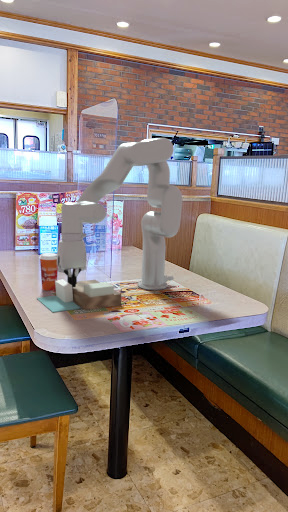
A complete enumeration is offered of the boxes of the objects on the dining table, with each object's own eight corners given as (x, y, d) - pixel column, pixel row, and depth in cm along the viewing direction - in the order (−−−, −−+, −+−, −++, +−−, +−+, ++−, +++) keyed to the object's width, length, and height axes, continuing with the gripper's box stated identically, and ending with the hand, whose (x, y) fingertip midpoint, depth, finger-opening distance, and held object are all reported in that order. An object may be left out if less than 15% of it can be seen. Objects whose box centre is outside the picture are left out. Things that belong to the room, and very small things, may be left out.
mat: (62, 295, 153) (62, 294, 153) (80, 308, 139) (80, 307, 139) (36, 298, 148) (36, 297, 148) (52, 312, 134) (52, 311, 134)
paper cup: (39, 292, 156) (39, 256, 154) (39, 286, 164) (38, 252, 161) (60, 291, 158) (60, 256, 156) (58, 285, 166) (58, 252, 163)
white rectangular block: (62, 279, 151) (54, 280, 149) (71, 285, 144) (63, 286, 142) (64, 294, 152) (56, 296, 151) (73, 300, 145) (65, 302, 143)
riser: (94, 289, 163) (94, 279, 162) (121, 304, 145) (121, 293, 144) (61, 293, 155) (61, 283, 155) (85, 310, 137) (85, 299, 137)
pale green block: (83, 292, 144) (83, 284, 143) (106, 289, 148) (106, 281, 148) (90, 297, 139) (90, 288, 138) (113, 294, 143) (114, 285, 143)
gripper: (86, 234, 152) (86, 282, 156) (48, 236, 144) (48, 286, 148) (95, 237, 146) (94, 286, 149) (55, 239, 138) (56, 291, 141)
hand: (72, 286), depth 148 cm, fingers closed
